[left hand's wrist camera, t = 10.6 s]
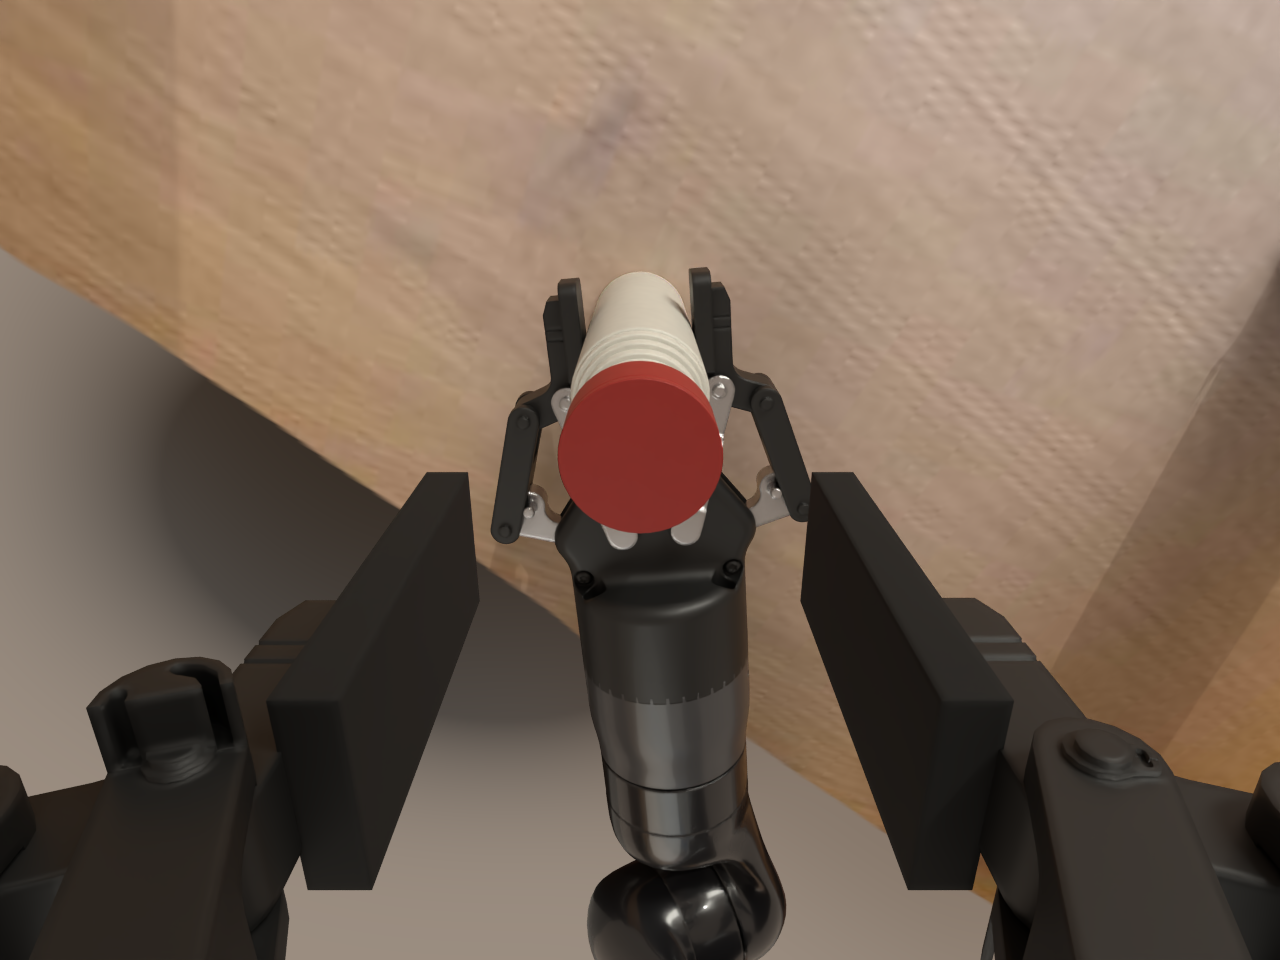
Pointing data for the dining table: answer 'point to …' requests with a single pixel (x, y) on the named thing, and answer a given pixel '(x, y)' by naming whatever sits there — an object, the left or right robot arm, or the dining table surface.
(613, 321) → the bottle
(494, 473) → the dining table surface
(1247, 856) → the left robot arm
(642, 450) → the cap
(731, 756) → the right robot arm
